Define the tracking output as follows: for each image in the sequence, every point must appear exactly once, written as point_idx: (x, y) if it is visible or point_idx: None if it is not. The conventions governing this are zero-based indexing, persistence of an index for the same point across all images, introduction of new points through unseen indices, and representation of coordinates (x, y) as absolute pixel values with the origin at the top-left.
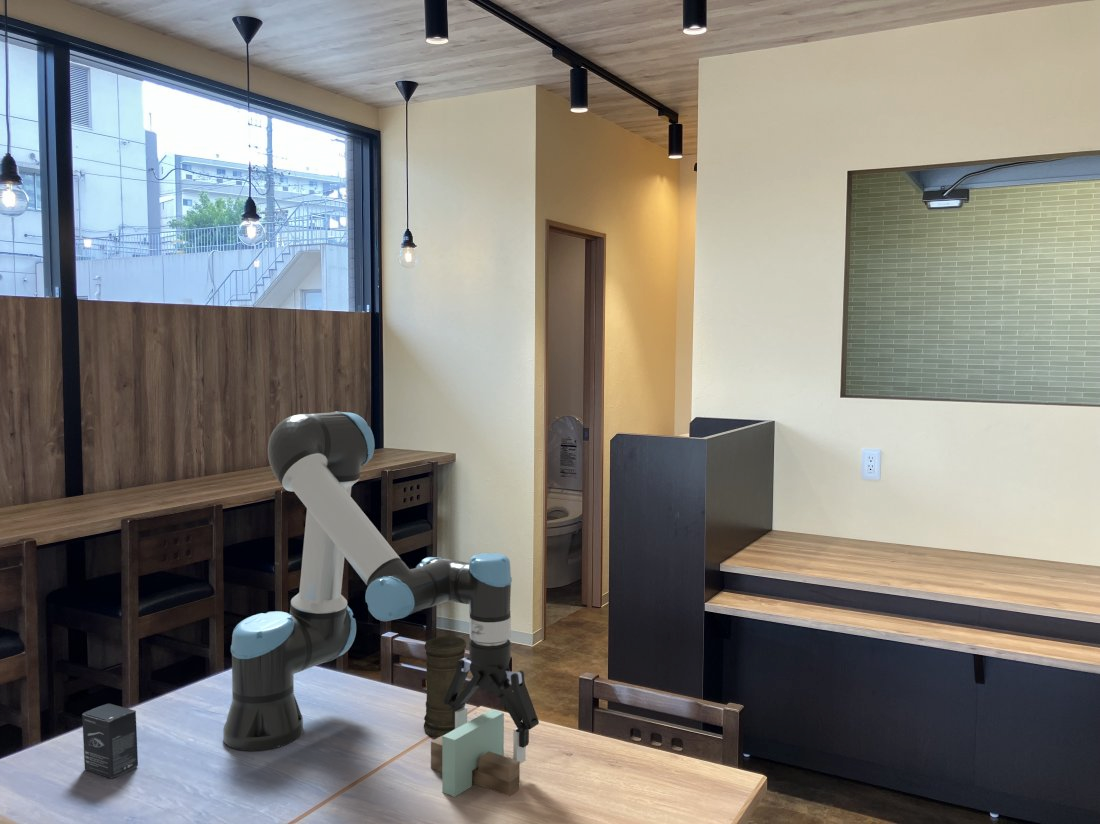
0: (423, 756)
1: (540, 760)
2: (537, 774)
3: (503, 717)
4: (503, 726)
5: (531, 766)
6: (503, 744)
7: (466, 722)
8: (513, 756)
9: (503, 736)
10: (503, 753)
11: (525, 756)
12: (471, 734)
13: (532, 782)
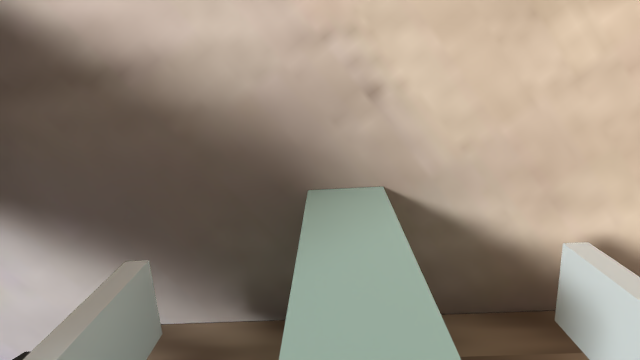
0: (36, 333)
1: (515, 19)
2: (580, 156)
3: (456, 355)
4: (430, 296)
5: (509, 107)
6: (400, 229)
7: (80, 342)
8: (584, 352)
9: (411, 253)
10: (391, 208)
11: (604, 254)
12: None
13: (597, 231)
